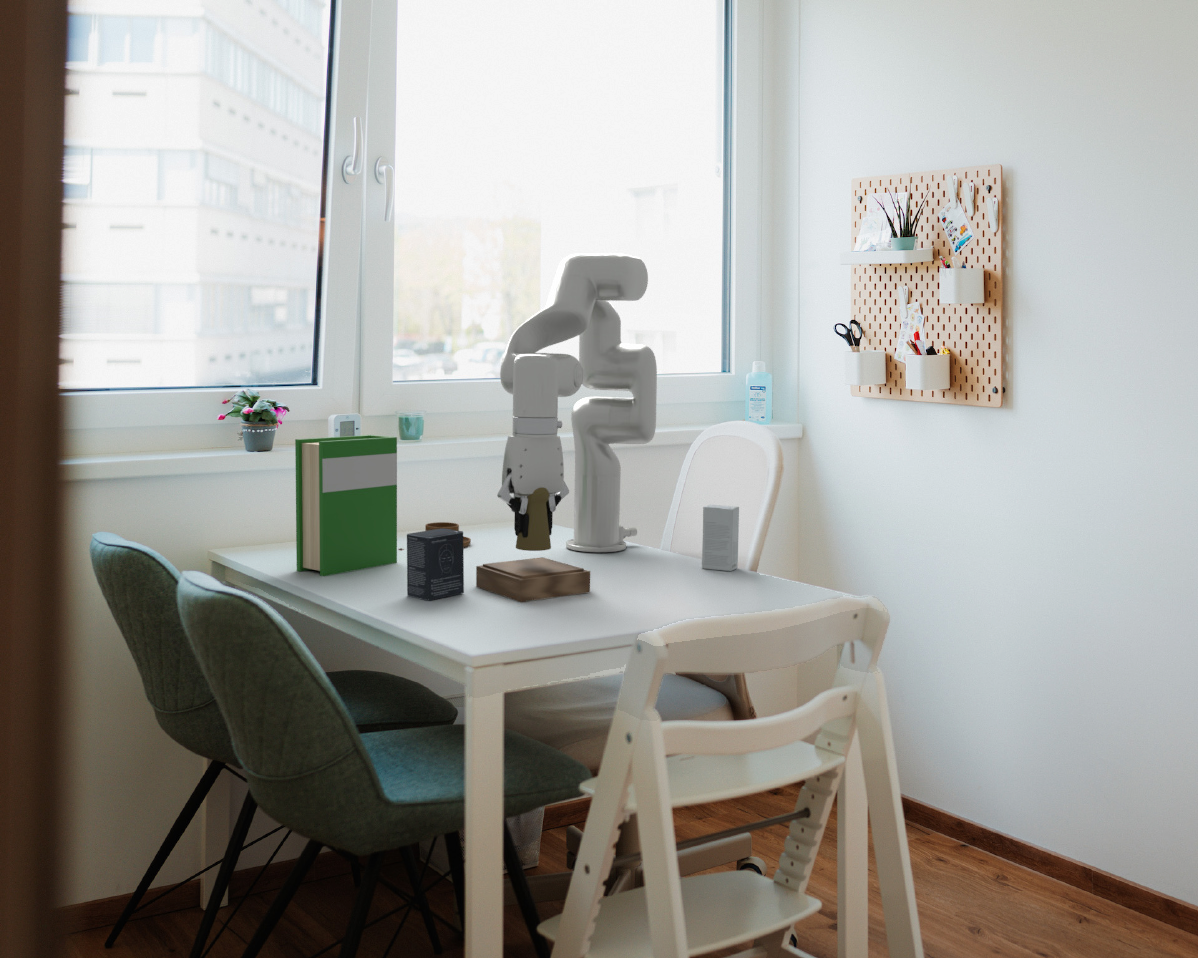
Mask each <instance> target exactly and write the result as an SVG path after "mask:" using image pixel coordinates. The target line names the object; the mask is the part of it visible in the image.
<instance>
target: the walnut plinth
mask: <svg viewBox="0 0 1198 958" xmlns="http://www.w3.org/2000/svg"><path fill="white" fill-rule="evenodd" d="M475 568H476V571H475V572H476V573H475V576H476V577H475V581H476V582H475V586H476V588H479V589H482V590H483V591H484V590H485V591H487V592H490V593H494V594H497V595H500V596H502V597H505V598H508V599H510V600H513V601H516V602H519V603H523V602H531V601H539V600H544V599H545V600H546V599H551V598H553V599H554V598H557V597H558V598H559V597H566V596H572V595H574V596H575V595H580V594H588V593H590V592H591V571H590V570H588V569H584V568H582V567H578V566H574V565H572V564H568V563H563V562H560V561H557V560H554V559H550V558H546V557H534V558H525V559H516V560H515V559H514V560H508V561H498V562H489V563H482V565H476V567H475Z"/></svg>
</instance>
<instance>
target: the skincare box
mask: <svg viewBox="0 0 1198 958" xmlns="http://www.w3.org/2000/svg"><path fill="white" fill-rule="evenodd" d="M702 511H703V512H702V515H703V516H702V517H703V518H702V548H701V550H702V551H701V552H702V553H701V555H702V557H701V568H702V569H703V570H713V571H714V570H715V571H723V572H725V571H726V572H732V571H734V570H736V569H738V568H739V566H738V565H739V559H738V558H739V525H740V518H739V517H740V507H739V506H733V505H732V506H731V505H717V504H709V505H707V506H706V505H704V506H703V507H702Z"/></svg>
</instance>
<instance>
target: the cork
mask: <svg viewBox="0 0 1198 958" xmlns="http://www.w3.org/2000/svg"><path fill="white" fill-rule="evenodd" d="M520 499H521V498H520ZM548 499H549V492H548V490H547V489H546V488H543V487H541V488H538V489H536V490H535V491H534V492H533V494H531V495H529V496H528V503H527V509H526V514H528V515H529V525H528V536H527V537H526V538H524V537H523V536H522V532H521V533H519V535H518V536H516V542H515V549H516V550H519V551H529V552H537V551H539V552H540V551H541V552H542V551H548V550H551V549H552V544H551V543H552V542H551V535H550V534H549V526H548V517H547V507H546V502H547V501H548Z"/></svg>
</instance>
